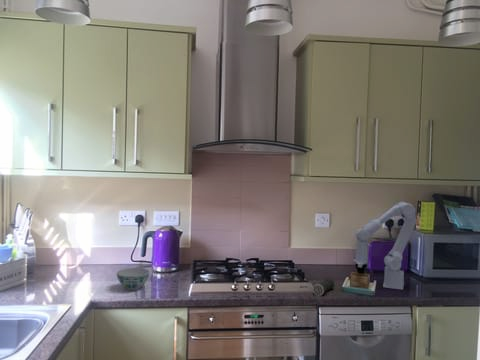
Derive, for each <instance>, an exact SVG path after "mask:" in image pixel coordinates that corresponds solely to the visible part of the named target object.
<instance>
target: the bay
mask: <svg viewBox="0 0 480 360" xmlns="http://www.w3.org/2000/svg"><path fill="white" fill-rule="evenodd" d="M376 287H377V280H373V282H370V283H369V289H366V288H359V287H352V286H350V276H347V277H346V278H345V280H344V282H343V284H342V286H341V292H345V293H346V292H347V293H352V294H353V293H354V294H360V295H366V296H375V292H376Z"/></svg>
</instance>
